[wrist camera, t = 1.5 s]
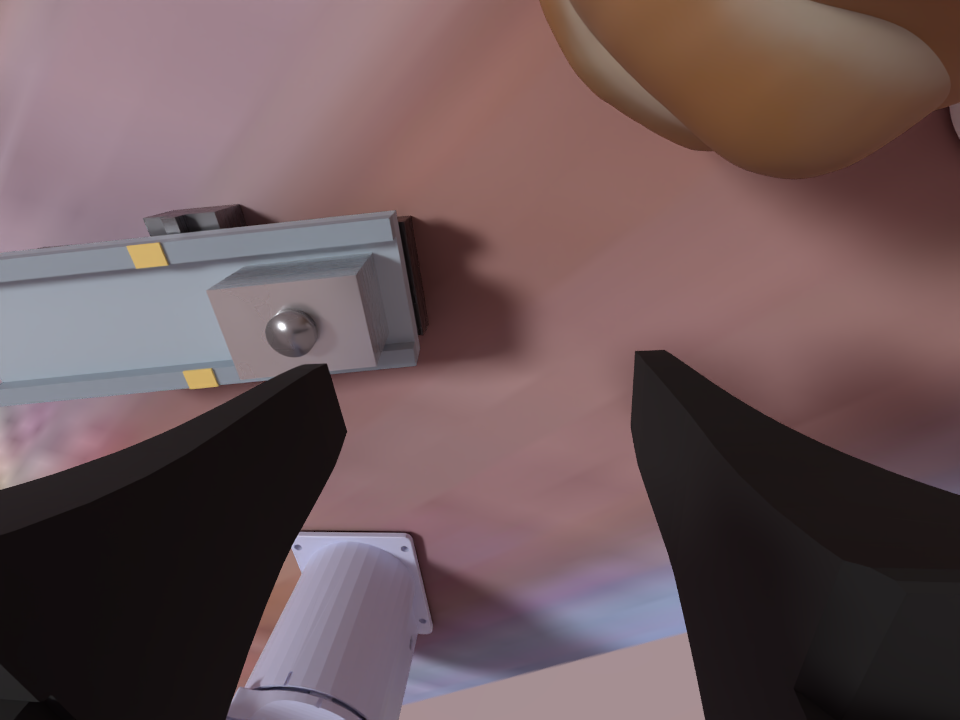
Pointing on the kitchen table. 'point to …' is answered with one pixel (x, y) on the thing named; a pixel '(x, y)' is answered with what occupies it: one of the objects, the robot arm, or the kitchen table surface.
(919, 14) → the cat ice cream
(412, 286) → the stand
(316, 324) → the block
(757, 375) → the kitchen table surface
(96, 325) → the beam
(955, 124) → the pill bottle
